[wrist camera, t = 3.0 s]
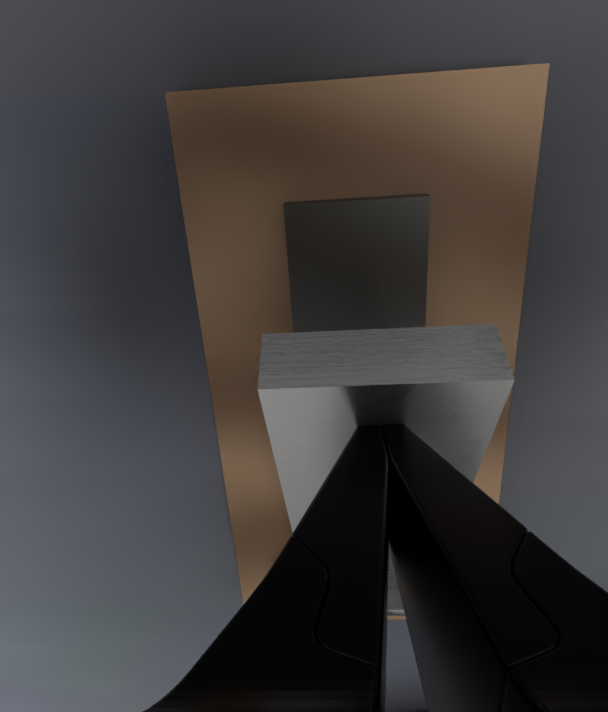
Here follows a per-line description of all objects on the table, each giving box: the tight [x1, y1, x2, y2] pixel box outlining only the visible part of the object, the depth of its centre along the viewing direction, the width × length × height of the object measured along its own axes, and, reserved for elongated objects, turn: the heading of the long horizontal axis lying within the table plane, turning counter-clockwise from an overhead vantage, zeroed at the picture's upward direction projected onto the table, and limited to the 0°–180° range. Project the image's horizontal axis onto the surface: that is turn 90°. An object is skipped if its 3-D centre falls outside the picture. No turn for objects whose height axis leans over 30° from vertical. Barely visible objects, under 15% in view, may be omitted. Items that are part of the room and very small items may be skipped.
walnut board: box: [164, 63, 550, 620], centre depth 17 cm, size 20×10×3 cm, turn 4°
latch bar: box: [258, 324, 515, 616], centre depth 14 cm, size 15×4×1 cm, turn 5°
